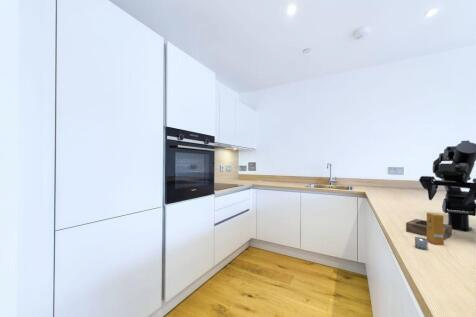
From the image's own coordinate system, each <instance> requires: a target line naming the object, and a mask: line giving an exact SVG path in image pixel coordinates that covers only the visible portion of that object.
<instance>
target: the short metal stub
mask: <svg viewBox="0 0 476 317" xmlns="http://www.w3.org/2000/svg"><path fill="white" fill-rule="evenodd" d="M428 242H429V241H427V238H424V237H420V236H415V237H414V247H415V249H418V250H423V251H427V250H428V249H429V245H428Z"/></svg>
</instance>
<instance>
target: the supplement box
mask: <svg viewBox="0 0 476 317" xmlns="http://www.w3.org/2000/svg"><path fill="white" fill-rule="evenodd" d="M426 221H427V236H426V239H427V241H428V242H429V243H431V244H433V245H440V246H444V245H445V242H444V224H445V223H444V215H443V214H439V213H437V212H426Z"/></svg>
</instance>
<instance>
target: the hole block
mask: <svg viewBox="0 0 476 317" xmlns="http://www.w3.org/2000/svg"><path fill="white" fill-rule="evenodd" d="M443 224H444V240H446V239H448V238H450V237H451V236H452V235H453V228H452V225H448V224H446V223H443ZM405 232H407V233H411V234H415V235H419V236H423V235H424V236H423V237H427V220H424V219H418V218H414V219H412V220H409V221H407V222H405Z"/></svg>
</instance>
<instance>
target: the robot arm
mask: <svg viewBox="0 0 476 317" xmlns="http://www.w3.org/2000/svg"><path fill="white" fill-rule="evenodd" d="M432 162H433V163H432V173H433V174H434V175H435V176H430V175H429V176H428V175H422V176H420V177H419V179H418V181H419V183H420V184H421V186H422V188H423V190H424V189H425V190H426V191H427V194H428V200H429V201H432V200H433V199H434V197H435V196H436V194H437V192H438V190H437V189H438V188H439V186H440V187H441V186H442V187H444V189H445V192H446V193H445V198H443V201H442V205H441V209H442V212H443V213H445V214H447V223H448V224H447V225H452V230H453V229H454V230H459V231H464V232H470V231H472V230H473V227H472V226H471V227H470V221H469V220H470V219H469V218H470V217H469V216H472V217H476V178H471V176H470V175H471V174H472V172H473V169H474V167H475V163H476V143H474V142H470V140H461V141H460V143H458V144H456V145H455V146H452V145H450V146H446V147H445V148H444V149H443V152H441V153H439V154H438V158H436V159H435V160H434V161H432ZM442 162H451V163H442ZM435 177H436V178H438V179H436V178H435ZM471 179H472V182H470V180H471ZM468 181H469V182H468ZM462 189H468V191H465V190H462Z"/></svg>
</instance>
